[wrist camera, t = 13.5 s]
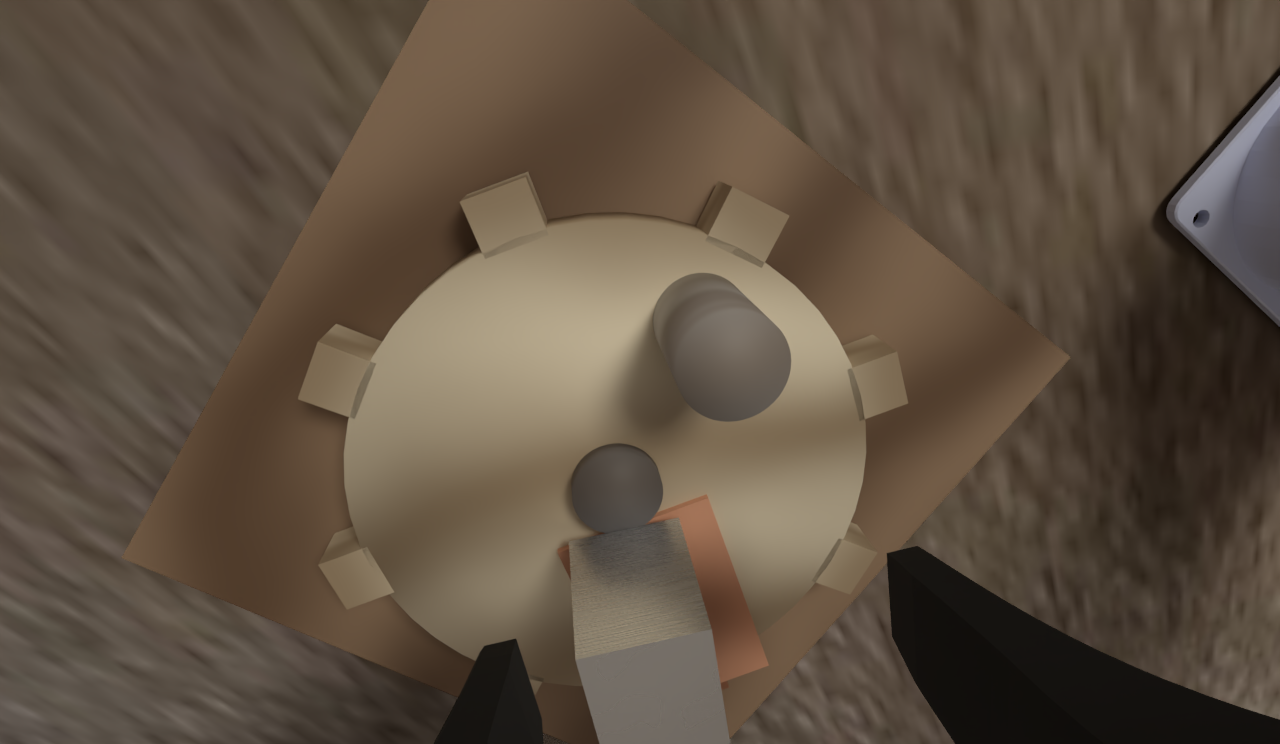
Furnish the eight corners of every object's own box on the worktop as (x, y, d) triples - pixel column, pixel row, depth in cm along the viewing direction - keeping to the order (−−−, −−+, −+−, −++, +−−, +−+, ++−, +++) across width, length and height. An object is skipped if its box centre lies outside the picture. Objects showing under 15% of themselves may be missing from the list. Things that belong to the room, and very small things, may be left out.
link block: (568, 541, 18) (575, 659, 15) (678, 517, 19) (711, 629, 15) (606, 684, 21) (620, 816, 17) (703, 662, 21) (737, 789, 17)
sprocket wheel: (928, 576, 23) (1023, 693, 18) (466, 744, 23) (444, 902, 19) (810, 65, 17) (906, 48, 12) (188, 299, 17) (53, 368, 13)
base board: (1038, 341, 22) (1084, 363, 20) (676, 755, 27) (686, 806, 25) (495, -92, 17) (487, -119, 15) (150, 528, 21) (108, 570, 19)
